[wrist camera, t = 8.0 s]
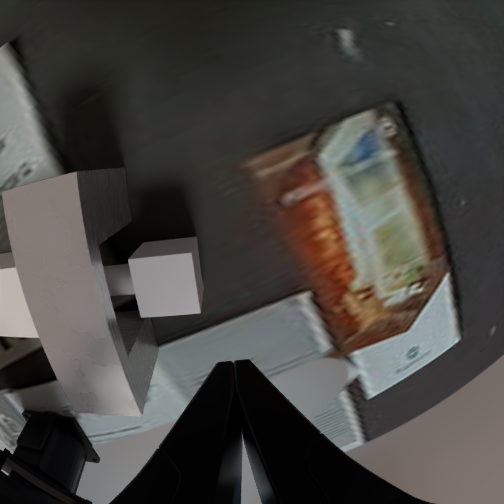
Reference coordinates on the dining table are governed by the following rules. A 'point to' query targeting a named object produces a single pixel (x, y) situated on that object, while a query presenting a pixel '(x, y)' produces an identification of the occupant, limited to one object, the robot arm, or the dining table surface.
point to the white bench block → (80, 289)
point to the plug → (122, 284)
